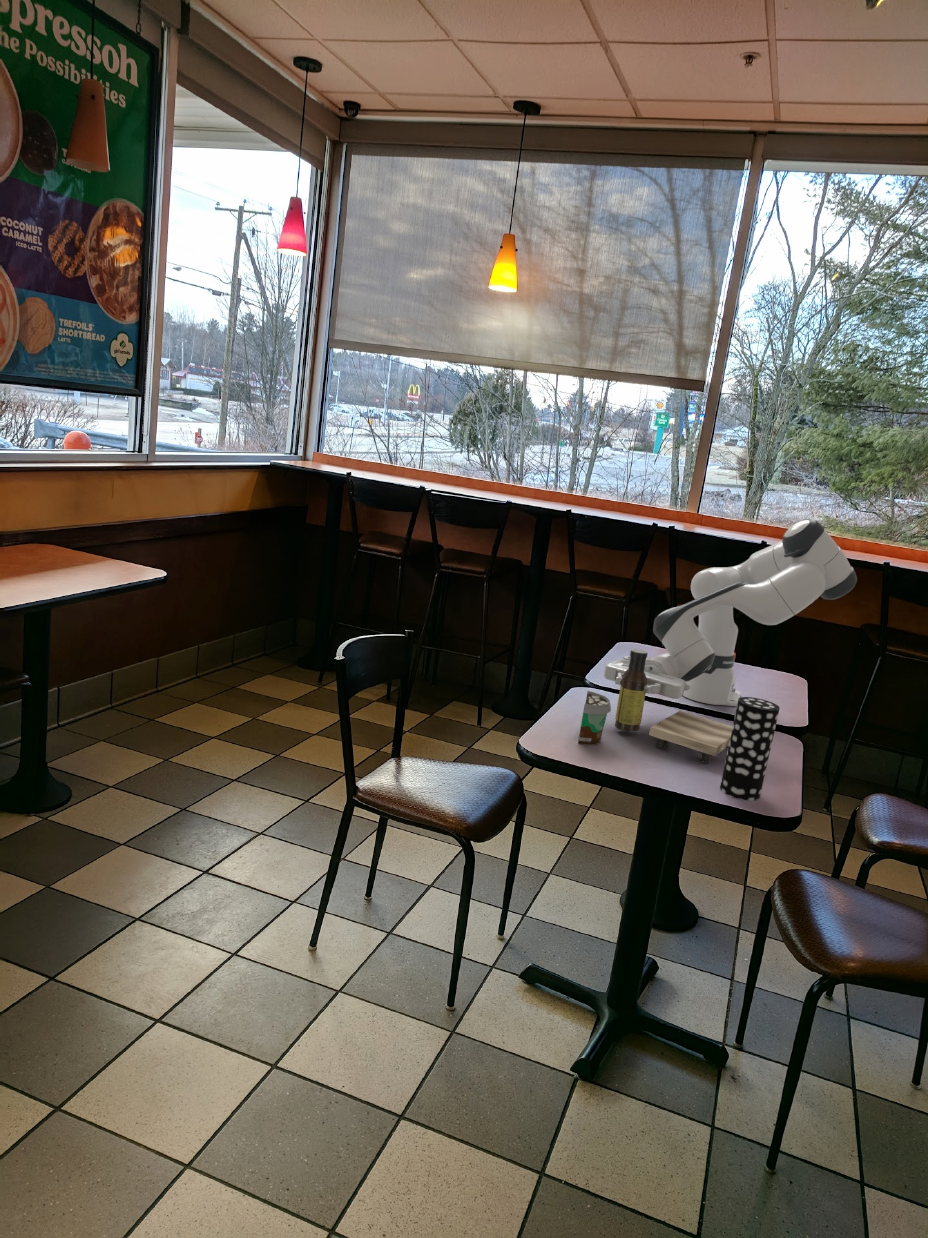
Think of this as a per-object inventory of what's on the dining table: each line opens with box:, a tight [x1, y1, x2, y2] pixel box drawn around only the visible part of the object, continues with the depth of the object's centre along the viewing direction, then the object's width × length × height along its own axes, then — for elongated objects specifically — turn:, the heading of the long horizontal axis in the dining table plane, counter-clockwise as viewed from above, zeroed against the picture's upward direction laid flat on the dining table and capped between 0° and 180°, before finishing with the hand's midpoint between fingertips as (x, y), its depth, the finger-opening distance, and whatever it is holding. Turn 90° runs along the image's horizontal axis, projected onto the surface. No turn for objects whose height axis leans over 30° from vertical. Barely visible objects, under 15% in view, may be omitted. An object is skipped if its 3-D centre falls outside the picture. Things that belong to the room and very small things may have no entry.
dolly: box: [648, 710, 733, 764], centre depth 209 cm, size 20×16×5 cm
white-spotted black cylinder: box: [719, 696, 781, 802], centre depth 182 cm, size 8×8×20 cm
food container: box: [577, 690, 612, 746], centre depth 204 cm, size 12×6×10 cm, turn 168°
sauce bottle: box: [614, 648, 648, 733], centre depth 211 cm, size 6×6×20 cm
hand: (632, 685), depth 210 cm, fingers closed on sauce bottle, 6 cm apart
